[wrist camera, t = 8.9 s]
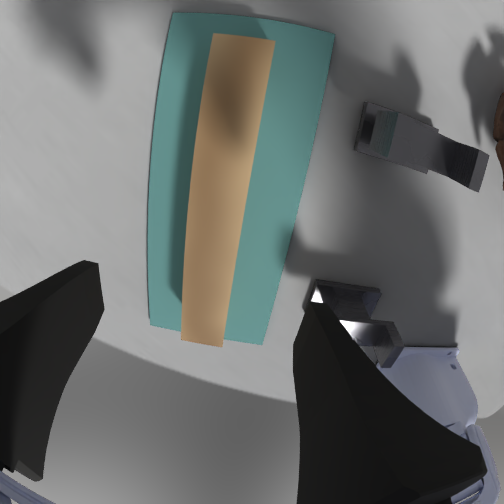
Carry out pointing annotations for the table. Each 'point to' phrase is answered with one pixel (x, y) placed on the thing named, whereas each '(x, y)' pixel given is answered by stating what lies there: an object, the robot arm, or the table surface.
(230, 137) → the oak bar
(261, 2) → the table surface
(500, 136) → the pottery mug
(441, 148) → the hook standards
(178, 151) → the teal mat
